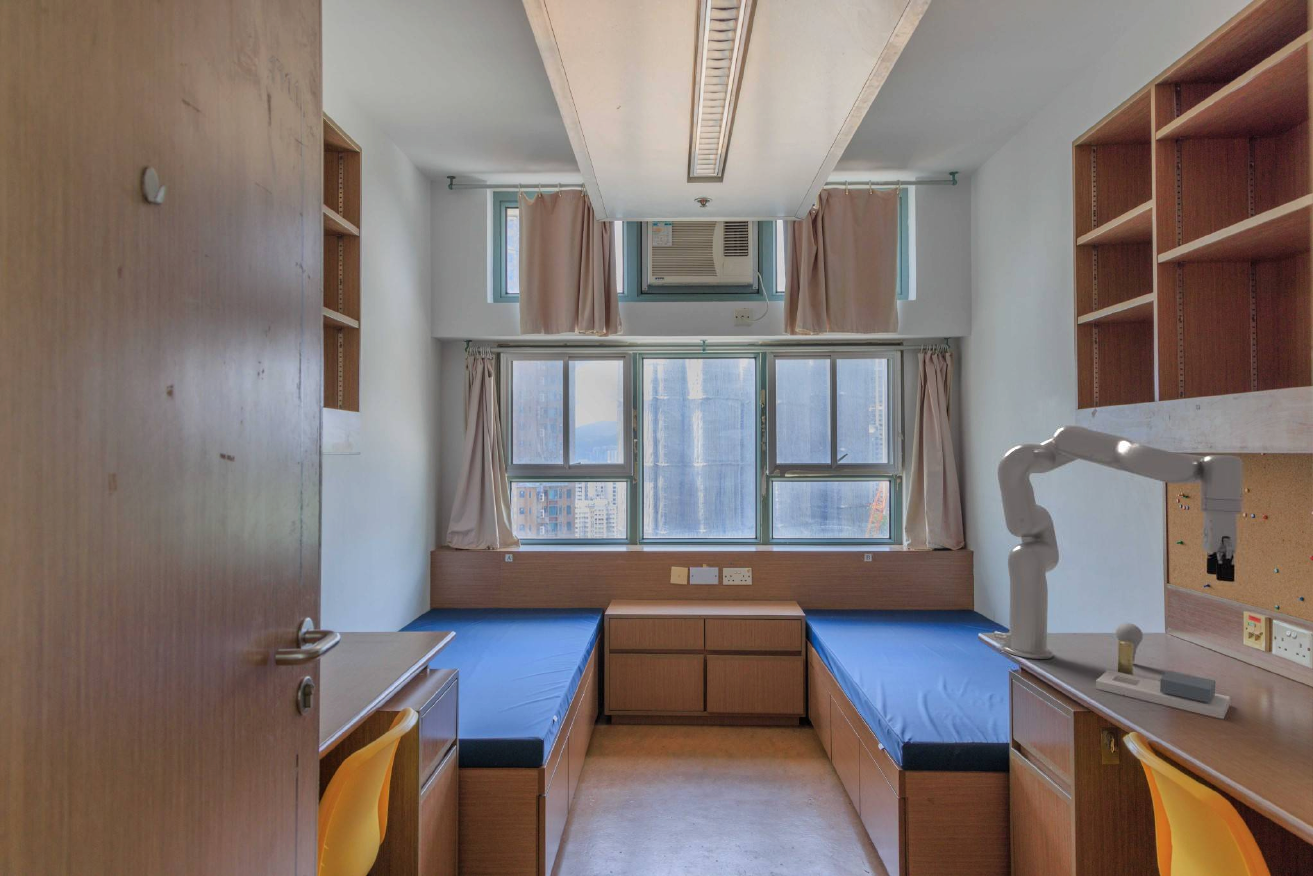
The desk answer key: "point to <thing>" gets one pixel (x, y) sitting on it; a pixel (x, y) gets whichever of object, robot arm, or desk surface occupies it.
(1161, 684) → the housing
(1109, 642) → the desk surface
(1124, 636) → the lightbulb
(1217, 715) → the board
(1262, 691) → the desk surface
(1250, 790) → the desk surface
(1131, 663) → the pin
